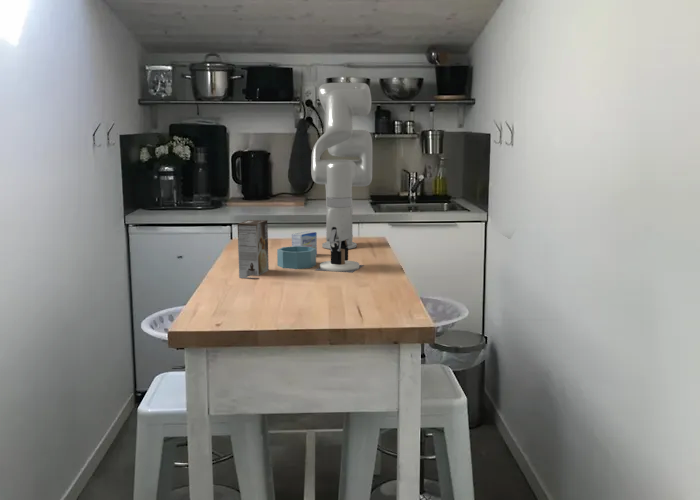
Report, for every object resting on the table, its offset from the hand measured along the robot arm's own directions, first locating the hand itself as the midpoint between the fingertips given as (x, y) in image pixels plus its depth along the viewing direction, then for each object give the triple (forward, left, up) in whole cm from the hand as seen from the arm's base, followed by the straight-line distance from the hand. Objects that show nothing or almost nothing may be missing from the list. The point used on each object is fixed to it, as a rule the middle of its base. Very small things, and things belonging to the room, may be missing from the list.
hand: (339, 261), depth 220 cm
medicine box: (-17, -18, -3) cm, 25 cm away
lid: (0, 0, -2) cm, 2 cm away
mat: (0, 0, -3) cm, 3 cm away
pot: (0, -14, -3) cm, 14 cm away
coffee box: (+14, -22, -3) cm, 26 cm away
